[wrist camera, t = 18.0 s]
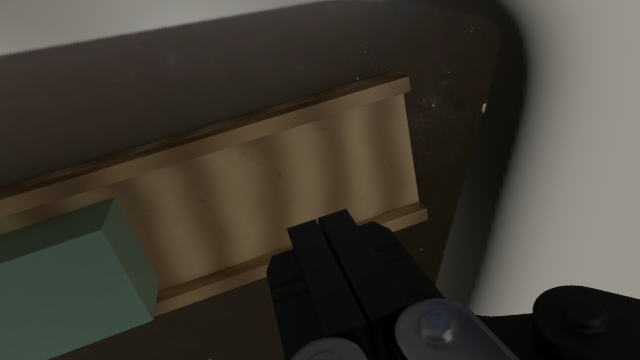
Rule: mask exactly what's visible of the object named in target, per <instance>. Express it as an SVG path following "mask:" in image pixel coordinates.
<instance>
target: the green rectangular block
mask: <svg viewBox="0 0 640 360" xmlns="http://www.w3.org/2000/svg"><path fill="white" fill-rule="evenodd" d="M158 285H159V278H158V276H157V274H156V272H155V270H154V268H153V266H152V265H151V263H150V261H149V259H148V257H147V255H146V253H145V252H144V250H143V248H142V246H141V244H140V242H139V240H138V238H137V237H136V235H135V233H134V231H133V229H132V227H131V225H130V224H129V222H128V220H127V218H126V216H125V214H124V212H123V211H122V209H121V207H120V205H119V203H118V201H117V199H116V198H115V197H114V198H111V199H108V200H105V201H102V202H99V203H96V204H93V205H90V206H87V207H84V208H81V209H78V210H75V211H72V212H69V213H66V214H63V215H59V216H56V217H53V218H50V219H47V220H44V221H41V222H38V223H35V224H32V225H29V226H26V227H23V228H20V229H17V230H14V231H11V232H8V233H5V234H2V235H0V360H48V359H51V358H53V357H56V356H59V355H61V354H64V353H67V352H69V351H72V350H75V349H77V348H80V347H83V346H86V345H88V344H91V343H94V342H96V341H99V340H102V339H104V338H107V337H110V336H112V335H115V334H118V333H120V332H123V331H126V330H128V329H131V328H134V327H136V326H139V325H142V324H145V323H147V322H150V321H153V318H154V312H155V305H156V299H157V292H158Z"/></svg>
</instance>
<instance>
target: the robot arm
mask: <svg viewBox="0 0 640 360" xmlns="http://www.w3.org/2000/svg"><path fill="white" fill-rule="evenodd" d="M317 221H318V223H317ZM317 221H316V219H313V220H310V221H307V222H304V223H301V224H298V225H295V226H292V227H289V228H287V232H288V235H289V238H290V241H291V245H292V248H293V249H290V250H287V251H284V252H281V253H278V254H276V255H273V256H271V259H270V262H269V265H268V268H267V271H266V274H267V279H268V283H269V288H270V292H271V296H272V301H273V304H274V310H275V314H276V319H277V323H278V328H279V332H280V337H281V341H282V345H283V350H284V354H285V360H640V299H636V298H632V297H627V296H623V295H619V294H615V293H611V292H606V291H602V290H598V289H594V288H589V287H584V286H572V285H570V286H559V287H555V288H552V289H549V290H547V291H545V292H543V293H542V294H541V295H540V296H539V297H538V298H537V299H536V301H535V302H534V305H533V313H530V314H520V315H508V316H493V317H489V316H480V315H475V314H474V313H473V312H472V311H471V310H470V309H468V308H467V307H465V306H463V305H461V304H459V303H457V302H455V301H451V300H446V299H445V298H444V297H443V296H442V294H441V293H440V292H439V290H438V289H437V288H436V287H435V285H434V284H433V283H432V281H431V280H430V279H429V278H428V276H427V275H426V274H425V273H424V271H423V270H422V269H421V268H420V266H419V265H418V264H417V263H416V261H415V260H414V259H413V257H412V256H411V255H409V253H408V251H407V250H406V249H405V247H404V246H403V245H402V244H401V243H400V241H399V240H398V239H397V237H396V236H395V235H394V233H393V232H392V231H391V230H390V229H389V228H387V227H385V226H383V225H381V224H379V223H377V222H375V221H371V222H368V223H365V224H363V225H360V226H358V225H357V224H356V222H355V221H354V219H353V218H352V216H351V215H350V213H349V212H348V210H347V209H343V210H340V211H337V212H334V213H331V214H328V215H325V216H322V217H319V218H317Z"/></svg>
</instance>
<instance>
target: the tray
mask: <svg viewBox="0 0 640 360" xmlns="http://www.w3.org/2000/svg"><path fill="white" fill-rule="evenodd" d="M410 91H411V90H410V83H409V77H408V76H406V75H403V74H400V73H398V72H395V71H390V72H386V73H383V74H380V75H376V76H373V77H370V78H366V79H363V80H360V81H356V82H353V83H350V84H346V85H343V86H340V87H336V88H333V89H330V90H326V91H323V92H320V93H316V94H313V95H310V96H306V97H303V98H300V99H296V100H293V101H289V102H286V103H283V104H279V105H276V106H273V107H269V108H266V109H263V110H259V111H256V112H253V113H249V114H246V115H243V116H239V117H236V118H233V119H229V120H226V121H223V122H219V123H216V124H213V125H209V126H206V127H203V128H199V129H196V130H193V131H189V132H186V133H183V134H179V135H176V136H173V137H169V138H166V139H163V140H159V141H156V142H153V143H149V144H146V145H143V146H139V147H136V148H133V149H129V150H126V151H122V152H119V153H116V154H112V155H109V156H106V157H102V158H99V159H96V160H92V161H89V162H86V163H82V164H79V165H76V166H72V167H69V168H66V169H62V170H59V171H56V172H52V173H49V174H46V175H42V176H39V177H36V178H32V179H29V180H26V181H22V182H19V183H16V184H12V185H9V186H6V187H2V188H0V235H2V234H5V233H8V232H11V231H14V230H17V229H20V228H23V227H26V226H29V225H32V224H35V223H38V222H41V221H44V220H47V219H50V218H53V217H56V216H59V215H63V214H66V213H69V212H72V211H75V210H78V209H81V208H84V207H87V206H90V205H93V204H96V203H99V202H102V201H105V200H108V199H111V198H114V197H115V198H116V199H117V201H118V203H119V205H120V207H121V209H122V211H123V212H124V214H125V216H126V218H127V220H128V222H129V224H130V225H131V227H132V229H133V231H134V233H135V235H136V237H137V238H138V240H139V242H140V244H141V246H142V248H143V250H144V252H145V253H146V255H147V257H148V259H149V261H150V263H151V265H152V266H153V268H154V270H155V272H156V274H157V276H158V278H159V285H158V292H157V299H156V305H155V312H154V317H155V316H158V315H161V314H163V313H166V312H169V311H172V310H175V309H177V308H180V307H183V306H186V305H189V304H191V303H194V302H197V301H200V300H203V299H206V298H208V297H211V296H214V295H217V294H220V293H222V292H225V291H228V290H231V289H234V288H236V287H239V286H242V285H245V284H248V283H251V282H253V281H256V280H259V279H262V278H265V277H267V274H266V271H267V268H268V265H269V262H270V259H271V256H273V255H276V254H278V253H281V252H284V251H287V250H290V249H293V248H292V245H291V241H290V238H289V235H288V232H287V228H289V227H292V226H295V225H298V224H301V223H304V222H307V221H310V220H313V219H316V221H317V218H319V217H322V216H325V215H328V214H331V213H334V212H337V211H340V210H343V209H347V210H348V212H349V213H350V215H351V216H352V218H353V219H354V221H355V222H356V224H357V225H358V226H360V225H363V224H365V223H368V222H371V221H375V222H377V223H379V224H381V225H383V226H385V227H387V228H389V229H390V230H391V231H392V232H394V231H397V230H400V229H402V228H405V227H408V226H411V225H414V224H417V223H419V222H422V221H425V220H428V216H427V209H426V208H425V207H424V206H423V205H422V204H421V203H420V202H419V199H418V192H417V185H416V179H415V172H414V165H413V158H412V151H411V144H410V137H409V130H408V123H407V116H406V109H405V102H404V95H403V94H404V93H407V92H410ZM317 223H318V221H317Z"/></svg>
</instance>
